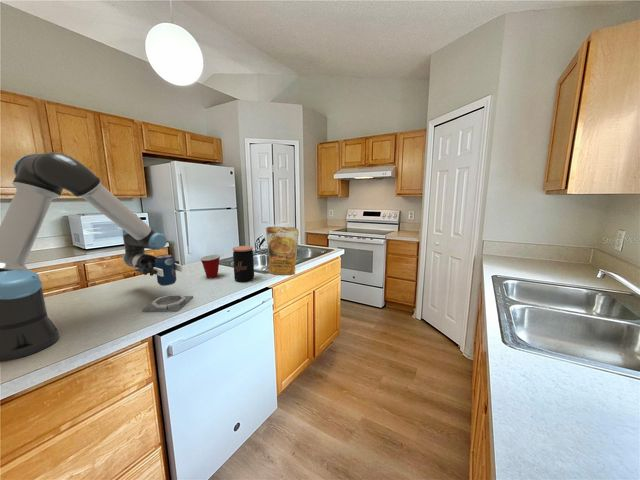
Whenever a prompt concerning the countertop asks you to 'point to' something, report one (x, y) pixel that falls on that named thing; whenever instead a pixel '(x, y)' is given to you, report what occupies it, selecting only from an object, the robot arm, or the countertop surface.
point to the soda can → (166, 269)
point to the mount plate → (168, 303)
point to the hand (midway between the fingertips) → (172, 270)
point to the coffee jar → (243, 263)
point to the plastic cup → (211, 265)
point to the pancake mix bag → (282, 249)
